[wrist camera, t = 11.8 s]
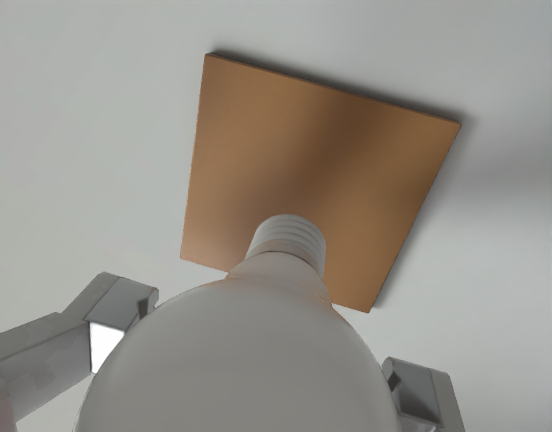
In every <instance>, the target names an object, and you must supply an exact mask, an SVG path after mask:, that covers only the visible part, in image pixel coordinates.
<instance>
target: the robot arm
mask: <svg viewBox="0 0 552 432" xmlns="http://www.w3.org/2000/svg"><path fill="white" fill-rule="evenodd" d="M158 298H159V290H158V289H157V288H155V287H151V286H148V285H145V284H142V283H139V282H136V281H133V280H130V279H127V278H124V277H119V276H116V275H113V274H110V273H107V272H102V273H100V274H98V275H97V276H96V277H95V278H94V279H93V280H92V281H91V282H90V284H89V285H88V286H87V287H86V288H85V289H84V290H83V291H82V292H81V293H80V294H79V295H78V296H77V297H76V298H75V299H74V301H73V302H72V303H71V304H70V305H69V306H68V307H67V308H66V309H65V310H64V311H63V312H62V313H58V312H54V313H52V314H49V315H47V316H44V317H41V318H39V319H36V320H34V321H31V322H28V323H26V324H23V325H21V326H18V327H15V328H13V329H10V330H8V331H5V332H2V333H0V432H18V431H17V426H16V422H17V421H18V420H20V419H22V418H23V417H25V416H26V415H28V414H29V413H31V412H33V411H34V410H36V409H37V408H39V407H40V406H42V405H44V404H45V403H47V402H48V401H50V400H51V399H53V398H54V397H56V396H58V395H59V394H61V393H62V392H64V391H65V390H67V389H69V388H70V387H72V386H73V385H75V384H76V383H78V382H80V381H81V380H83V379H84V378H86V377H87V376H89V375H90V372H91V373H94V374H96V373H97V371H98V369H99V367H100V366H101V364H102V363H103V361H104V360H105V358H106V357H107V356H108V354H109V353H110V351H111V350H112V349H113V348H114V346H115V345H116V344H117V343H118V341H119V340H120V339H121V338H122V337H123V336H124V335H125V334H126V333H127V332H128V331H129V330H130V329H131V328H132V327H133V326H134V325H135V324H136V323H137V322H138V321H139V320H140V319H142V318H143V317H144V316H145V315H147V314H148V313H149V312H151V311H152V310H153V309H155V307H154V305H155V304H156V302H157V301H158ZM382 371H383V373H384V375H385V377H386V380H387V382H388V384H389V387H390V389H391V392H392V395H393V397H394V400H395V404H396V407H397V411H398V414H399V419H400V423H401V428H402V432H465V429H464V425H463V422H462V418H461V415H460V411H459V407H458V404H457V400H456V397H455V393H454V390H453V386H452V383H451V379H450V377H449V375H448V374H447V373H445V372H441V371H438V370H434V369H431V368H426V367H424V366H420V365H417V364H413V363H410V362H406V361H403V360H399V359H396V358H392V357H388V358H386V359H385V361H384V362H383V364H382Z"/></svg>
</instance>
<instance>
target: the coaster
mask: <svg viewBox="0 0 552 432" xmlns="http://www.w3.org/2000/svg"><path fill="white" fill-rule="evenodd" d="M460 127H461V124H460V123H459V122H458V121H454V120H451V119H447V118H443V117H440V116H436V115H432V114H429V113H425V112H421V111H418V110H414V109H411V108H407V107H403V106H400V105H396V104H392V103H389V102H385V101H381V100H378V99H374V98H370V97H367V96H363V95H360V94H356V93H352V92H349V91H345V90H341V89H338V88H334V87H330V86H327V85H323V84H319V83H316V82H312V81H309V80H305V79H301V78H298V77H294V76H290V75H287V74H283V73H279V72H276V71H272V70H268V69H265V68H261V67H258V66H254V65H250V64H247V63H243V62H239V61H236V60H232V59H228V58H225V57H221V56H218V55H214V54H210V53H207V54H205V57H204V66H203V74H202V82H201V90H200V98H199V107H198V115H197V123H196V131H195V139H194V148H193V156H192V164H191V172H190V180H189V188H188V197H187V205H186V213H185V221H184V229H183V238H182V246H181V254H180V258H181V259H184V260H187V261H191V262H194V263H198V264H201V265H204V266H208V267H211V268H215V269H218V270H221V271H225V272H228V273H229V272H230V271H231V270H232V269H233V268H234V267H235V266H236V265H238V264H239V263H240V262H242V261H243V260H244V259H245V257H246V254H247V252H248V250H249V247H250V245H251V242H252V240H253V237H254V235H255V232H256V230H257V228H258V227H259V226H260V224H261V223H263V222H264V221H265V220H267V219H268V218H270V217H273V216H276V215H280V214H293V215H298V216H301V217H304V218H306V219H308V220H309V221H311V222H312V223H313V224H315V225H316V226H317V227H318V228H319V230H320V231H321V233H322V234H323V237H324V239H325V243H326V254H325V264H324V273H323V281H324V283H325V285H326V287H327V290H328V292H329V295H330V299H331V303H334V304H337V305H341V306H344V307H348V308H351V309H355V310H358V311H361V312H365V313H369V312H370V310H371V308H372V306H373V304H374V302H375V299H376V297H377V295H378V293H379V291H380V289H381V287H382V285H383V283H384V281H385V279H386V277H387V275H388V273H389V271H390V269H391V267H392V265H393V263H394V261H395V259H396V257H397V255H398V253H399V251H400V249H401V247H402V245H403V243H404V240H405V238H406V236H407V234H408V232H409V230H410V228H411V226H412V224H413V222H414V220H415V218H416V216H417V214H418V212H419V210H420V208H421V206H422V204H423V202H424V200H425V198H426V196H427V194H428V192H429V190H430V188H431V186H432V184H433V182H434V179H435V177H436V175H437V173H438V171H439V169H440V167H441V165H442V163H443V161H444V159H445V157H446V155H447V153H448V151H449V149H450V147H451V145H452V143H453V141H454V139H455V137H456V135H457V133H458V131H459V129H460Z"/></svg>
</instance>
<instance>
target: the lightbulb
mask: <svg viewBox="0 0 552 432" xmlns="http://www.w3.org/2000/svg"><path fill="white" fill-rule="evenodd" d="M325 254H326V243H325V239H324V237H323V234H322V233H321V231H320V230H319V228H318V227H317V226H316V225H315V224H313V223H312V222H311V221H309V220H308V219H306V218H304V217H301V216H298V215H293V214H280V215H276V216H273V217H270V218H268V219H267V220H265V221H264V222H263V223H261V224H260V226H259V227H258V228H257V230H256V232H255V235H254V237H253V240H252V242H251V245H250V247H249V250H248V252H247V254H246V257H245V259H244V260H243V261H242V262H240V263H239V264H238V265H236V266H235V267H234V268H233V269H232V270H231V271H230V272H229V273H228V275H227V276H226V277H225V278H224V279H223V280H219V281H214V282H211V283H207V284H204V285H201V286H198V287H195V288H193V289H190V290H188V291H185V292H183V293H181V294H179V295H177V296H175V297H173V298H171V299H169V300H167V301H166V302H164V303H162V304H161V305H159V306H158V307H156V308H155V309H153V310H152V311H151V312H149V313H148V314H147V315H145V316H144V317H143V318H142V319H140V320H139V321H138V322H137V323H136V324H135V325H134V326H133V327H132V328H131V329H130V330H129V331H128V332H127V333H126V334H125V335H124V336H123V337H122V338H121V339H120V340H119V341H118V343H117V344H116V345H115V346H114V348H113V349H112V350H111V351H110V353H109V354H108V356H107V357H106V358H105V360H104V361H103V363H102V364H101V366H100V367H99V369H98V371H97V373H96V374H95V376H94V378H93V380H92V382H91V384H90V385H89V388H88V390H87V392H86V394H85V396H84V398H83V401H82V403H81V406H80V409H79V411H78V414H77V417H76V420H75V423H74V427H73V430H72V432H402V428H401V423H400V419H399V414H398V411H397V407H396V404H395V400H394V397H393V395H392V392H391V389H390V387H389V384H388V382H387V380H386V377H385V375H384V373H383V371H382V369H381V367H380V365H379V363H378V362H377V360H376V358H375V357H374V355H373V353H372V352H371V350H370V349H369V348H368V346H367V345H366V343H365V342H364V341H363V339H362V338H361V337H360V335H359V334H358V333H357V332H356V331H355V330H354V328H353V327H352V326H351V325H350V324H349V323H348V322H347V321H346V320H345V319H344V318H343V317H342V316H341V315H340V314H339V313H338V312H337V311H335V310H334V309H333V308H332V304H331V299H330V295H329V292H328V290H327V287H326V285H325V283H324V281H323V273H324V264H325Z"/></svg>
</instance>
